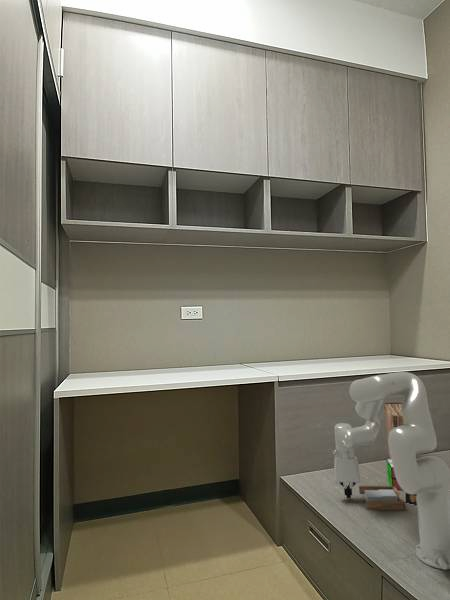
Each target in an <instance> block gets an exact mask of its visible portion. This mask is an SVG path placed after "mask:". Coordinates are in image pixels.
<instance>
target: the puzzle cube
mask: <svg viewBox="0 0 450 600" xmlns="http://www.w3.org/2000/svg"><path fill="white" fill-rule="evenodd" d="M385 462H386V471H387V472H386V473H387V481H388V483H389V486H395V488H396V489H397V491H403V490H402V489H401V487H400V486H399V484H398V482H397V479H396V476H395V472H394V468H393V464H392V459H389V458H388V459H386V460H385Z"/></svg>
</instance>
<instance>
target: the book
mask: <svg viewBox="0 0 450 600" xmlns="http://www.w3.org/2000/svg"><path fill="white" fill-rule="evenodd" d="M402 403H403V402H383V408H384V415H385V416H384V417H385V420H384V421H385V430H386V443H387V453H388V459H391V455H390V450H389V445H388V436H389V433H390V431H391V430H392V429H393V428H395V427H398V426H403V425H404V420H403V416H402ZM416 459H417V456H416Z"/></svg>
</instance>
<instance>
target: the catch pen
mask: <svg viewBox="0 0 450 600" xmlns="http://www.w3.org/2000/svg"><path fill="white" fill-rule="evenodd" d="M358 489H359V494H365V492H364V490H394V492H395V493H396V495H397V497H398V501H366V500H365V509H366V510H373V511H375V510H376V511H377V510H381V511H383V510H384V511H406V509H407V508H406V501H405V500H404V499H403V497H402V495H401V494H400V492H399V490H397V489H396V488H395V486H391V485H358Z"/></svg>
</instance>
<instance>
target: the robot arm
mask: <svg viewBox="0 0 450 600" xmlns="http://www.w3.org/2000/svg"><path fill="white" fill-rule="evenodd" d="M349 396H350V398H351V399H352V400H353V402H355V403H356V405H355V409H354V410H355V412H356V414H357V415H358V416H359V417H360V418H362V419H363V420H366V421H365V424H364V425H361V426H356V427H353V426H352V425H351V424H349V423H346V422H340V423H336V424H335V425H334V428H333V429H334V431H333V432H334V439H335V440H334V441H335V450H332V454H333V455H334V463H333V465H334V467H333V469H334V481H333V482H334V483H335V484H338V485H341V487H342V488H343V490H344V491H343V492H344V496H346V499H352V496H353V487H354V486H355V485H359V484H360V483H361V475H360V467H359V466H360V465H359V461H358V458H357V455H355V449H356V448H357V449H358V448H361V447H364V446H365V447H366V446H369V445H372V444H374V443H375V441H376V440H377V439H378V436H379V434H380V432H381V420H380V418H379V416H378V414H379V412H380V409H381V408H382V405H383V404H384V401H385V400H390V399H396V398H400V397H401V398H403V401H402V402H401V403H402V416H403V420H404V425H403V426H398V427H395V428H393V429H392V430H391V431H390V433H389V436H388V444H387V446H388V445H389V450H390V455H391V459H392V464H393V468H394V472H395V476H396V479H397V482H398V484H399V486H400V487H401V489H402V490H401V491H403V492H406V493H408V494H412V495H414V494H417V506H416V510H417V512H416V513H417V522H418V523H417V524H418V534H419V535H418V536H419V543H418V544H417V545H416V547H415V548H414V549H415V554H416V557H417V558H418V559H419V560H420V561H421V562H423V563H424V564H426V565H428V566H429V567H433V568H436V569H440V570H443V571H446V570H450V468H449V466H448V465H447V462H445V461H444V460H443V459H442V458H440V457H439V456H434V455H425V456H421V457H418V458H417V459H416V457H417V456H418V455H422V454H425V453H429V452H432V451H433V450H435V449H436V448H437V444H438V443H437V442H438V441H437V436H436V435H437V434H436V432H435V429H434V428H435V427H434V424H433V419H432V416H431V412H430V409H429V408H430V407H429V403H428V395H427V390H426V386H425V384H424V383H423V381H422V380H421V378H419V377H418V376H417V375H416V374H413V373H412V372H409V371H398V372H389V373H385V374H377V375H372V376H369V377H365V378H361V379H356V380H354V381H353V382H352V383H350V386H349ZM347 483H348V485H347Z"/></svg>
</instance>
